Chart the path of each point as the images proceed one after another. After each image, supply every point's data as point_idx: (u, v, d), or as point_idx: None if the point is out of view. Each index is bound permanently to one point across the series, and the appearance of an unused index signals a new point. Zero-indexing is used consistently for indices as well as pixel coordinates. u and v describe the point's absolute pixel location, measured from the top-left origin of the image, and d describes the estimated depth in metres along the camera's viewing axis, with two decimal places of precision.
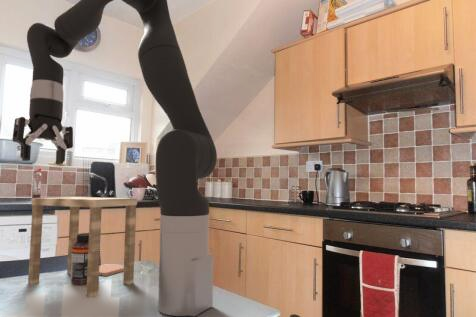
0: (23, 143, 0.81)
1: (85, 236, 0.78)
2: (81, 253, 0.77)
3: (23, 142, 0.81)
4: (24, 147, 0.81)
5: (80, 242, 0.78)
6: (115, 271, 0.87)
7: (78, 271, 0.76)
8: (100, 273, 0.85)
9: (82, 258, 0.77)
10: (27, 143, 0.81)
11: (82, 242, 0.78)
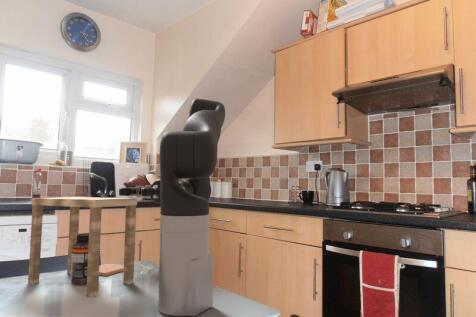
0: None
1: (85, 236, 0.78)
2: (81, 253, 0.77)
3: None
4: None
5: (79, 242, 0.78)
6: (115, 271, 0.87)
7: (78, 271, 0.76)
8: (100, 273, 0.85)
9: (81, 258, 0.77)
10: (129, 187, 0.99)
11: (82, 242, 0.78)
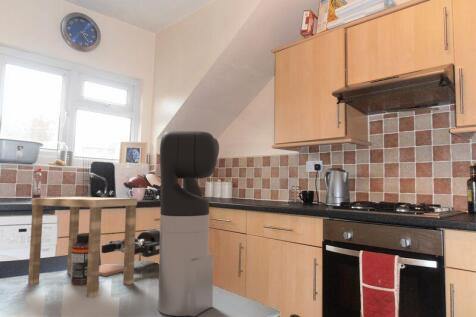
0: None
1: (85, 236, 0.78)
2: (81, 253, 0.77)
3: None
4: None
5: (80, 242, 0.78)
6: (115, 271, 0.87)
7: (78, 271, 0.76)
8: (100, 273, 0.85)
9: (82, 258, 0.77)
10: (113, 242, 0.93)
11: (82, 242, 0.78)
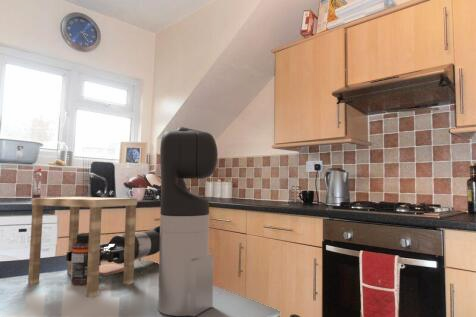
0: None
1: (85, 236, 0.78)
2: (81, 253, 0.77)
3: None
4: None
5: (79, 242, 0.78)
6: (115, 271, 0.87)
7: (78, 271, 0.76)
8: (100, 273, 0.85)
9: (81, 258, 0.77)
10: None
11: (82, 242, 0.78)
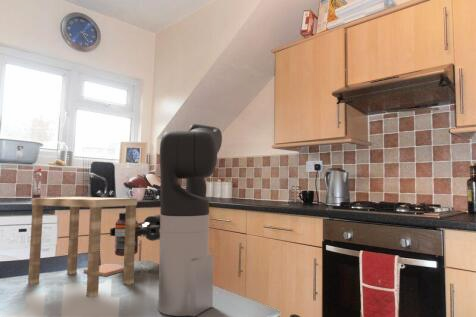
0: None
1: None
2: (124, 228, 0.88)
3: None
4: None
5: (122, 219, 0.89)
6: (115, 271, 0.87)
7: (122, 244, 0.88)
8: (100, 273, 0.85)
9: (124, 232, 0.88)
10: None
11: (124, 219, 0.89)
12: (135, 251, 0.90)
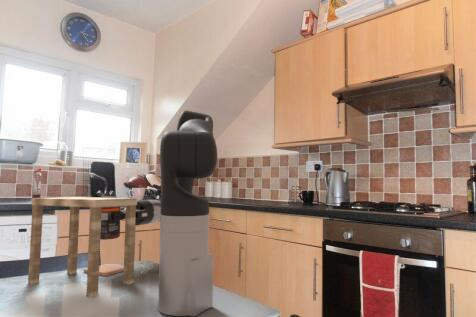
0: None
1: None
2: (106, 212, 0.88)
3: None
4: None
5: None
6: (115, 271, 0.87)
7: (103, 228, 0.88)
8: (100, 273, 0.85)
9: (106, 216, 0.88)
10: None
11: None
12: (117, 235, 0.90)
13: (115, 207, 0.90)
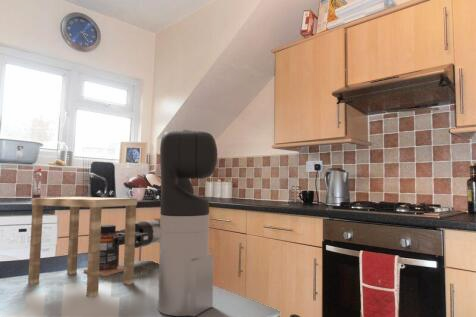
0: None
1: (107, 227, 0.89)
2: (104, 242, 0.88)
3: None
4: None
5: (102, 232, 0.89)
6: (115, 271, 0.87)
7: (102, 258, 0.87)
8: (100, 273, 0.85)
9: (105, 246, 0.87)
10: None
11: (105, 232, 0.89)
12: (116, 265, 0.89)
13: None
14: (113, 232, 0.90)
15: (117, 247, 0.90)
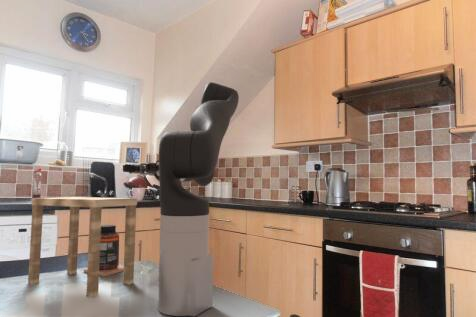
0: None
1: (107, 227, 0.89)
2: (104, 242, 0.88)
3: None
4: None
5: (102, 232, 0.89)
6: (115, 271, 0.87)
7: (102, 258, 0.87)
8: (100, 273, 0.85)
9: (105, 246, 0.87)
10: None
11: (105, 232, 0.89)
12: (116, 265, 0.89)
13: (114, 237, 0.89)
14: (113, 232, 0.90)
15: (117, 247, 0.90)
